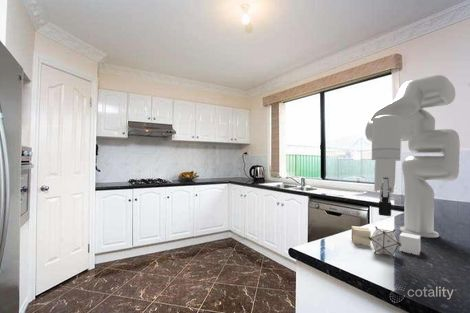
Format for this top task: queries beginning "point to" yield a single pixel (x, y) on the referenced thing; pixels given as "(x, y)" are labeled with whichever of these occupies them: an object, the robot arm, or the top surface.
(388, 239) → the game die
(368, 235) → the ash block
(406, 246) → the white block
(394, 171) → the robot arm
